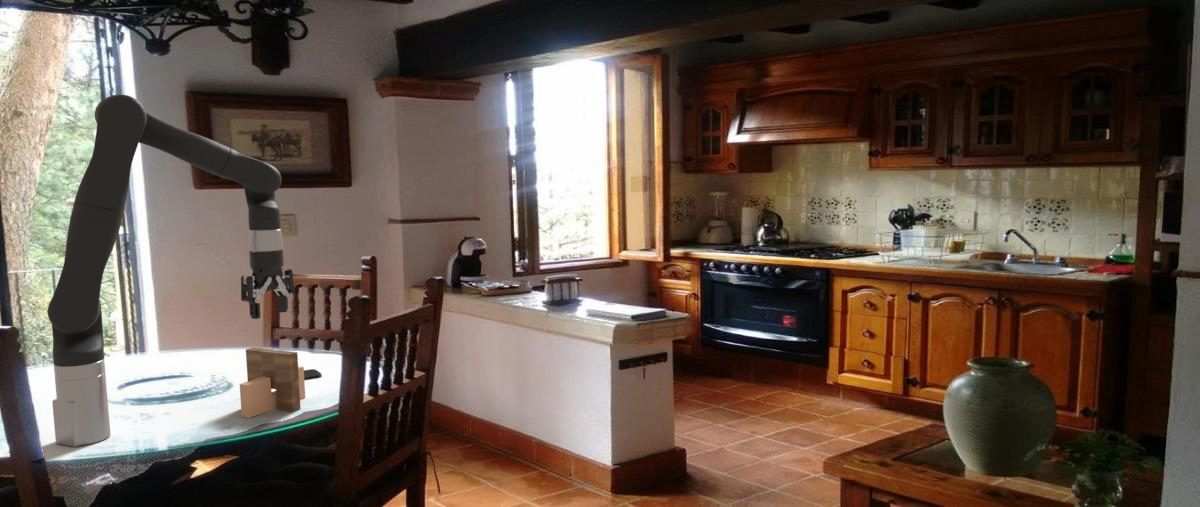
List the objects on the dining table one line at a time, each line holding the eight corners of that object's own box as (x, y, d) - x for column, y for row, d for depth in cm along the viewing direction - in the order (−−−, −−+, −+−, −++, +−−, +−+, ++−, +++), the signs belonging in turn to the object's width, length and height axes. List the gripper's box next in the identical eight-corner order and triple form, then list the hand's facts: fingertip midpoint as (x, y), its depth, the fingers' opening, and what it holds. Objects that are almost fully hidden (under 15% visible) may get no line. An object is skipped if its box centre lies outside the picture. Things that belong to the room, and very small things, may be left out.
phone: (322, 374, 228) (265, 383, 219) (322, 378, 228) (265, 387, 219) (314, 368, 234) (258, 377, 226) (314, 372, 234) (258, 381, 226)
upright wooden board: (293, 411, 197) (289, 354, 195) (249, 405, 202) (245, 349, 200) (300, 409, 199) (297, 352, 197) (256, 402, 204) (253, 347, 203)
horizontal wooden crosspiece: (249, 418, 192) (247, 385, 191) (241, 417, 193) (239, 384, 192) (305, 397, 208) (303, 366, 207) (297, 396, 209) (296, 365, 208)
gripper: (276, 244, 204) (279, 309, 206) (230, 250, 191) (234, 319, 193) (300, 245, 201) (303, 311, 203) (254, 252, 188) (258, 321, 190)
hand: (269, 315), depth 198 cm, fingers open, 8 cm apart
